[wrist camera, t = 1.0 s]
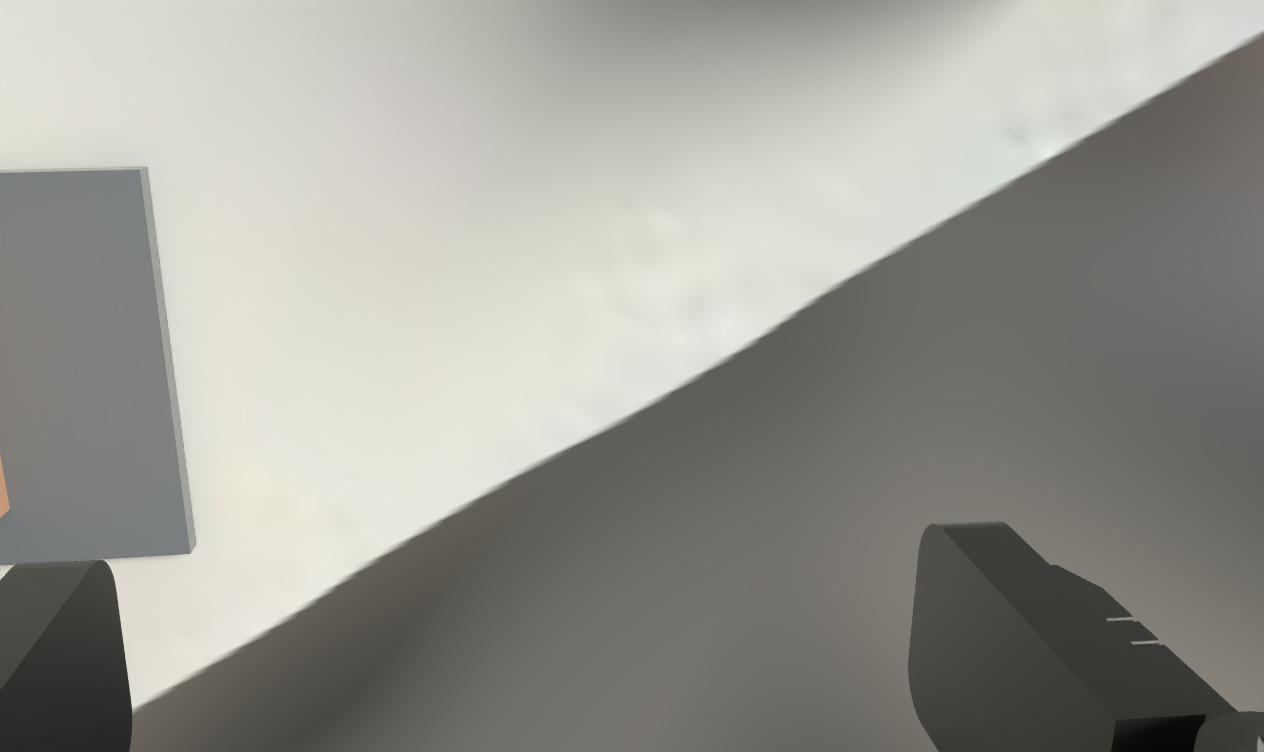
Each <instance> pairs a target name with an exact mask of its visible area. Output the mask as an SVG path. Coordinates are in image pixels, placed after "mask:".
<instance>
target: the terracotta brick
mask: <svg viewBox="0 0 1264 752" xmlns="http://www.w3.org/2000/svg"><path fill="white" fill-rule="evenodd" d="M9 509H10V507H9V501H8V496H7V490H6V484H5V479H4V473H3V468H2V462H1V456H0V518H1V517H2V516H3V515H4V514H5V513H6V512H7V511H8V510H9Z"/></svg>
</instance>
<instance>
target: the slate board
mask: <svg viewBox="0 0 1264 752" xmlns="http://www.w3.org/2000/svg"><path fill="white" fill-rule="evenodd" d="M0 456H1V462H2V468H3V473H4V479H5V484H6V490H7V496H8V501H9V507H10V509H9V510H8V511H7V512H6V513H5V514H4V515H3V516H2V517H1V518H0V565H10V564H18V563H38V562H60V561H77V560H94V559H111V558H128V557H144V556H161V555H178V554H191V552H192V550H193V549H194V547H195V545H196V537H195V530H194V522H193V514H192V507H191V499H190V491H189V484H188V476H187V468H186V460H185V453H184V445H183V437H182V430H181V422H180V414H179V407H178V399H177V391H176V384H175V376H174V368H173V361H172V353H171V345H170V338H169V330H168V322H167V315H166V307H165V299H164V292H163V284H162V276H161V269H160V261H159V253H158V246H157V238H156V230H155V222H154V215H153V207H152V199H151V192H150V184H149V176H148V169H147V167H119V168H77V169H34V170H0Z"/></svg>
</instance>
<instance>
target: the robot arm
mask: <svg viewBox="0 0 1264 752" xmlns="http://www.w3.org/2000/svg"><path fill="white" fill-rule="evenodd" d="M908 673H909V683H910V691H911V695H912V700H913V704H914V707H915V710H916V713H917V715H918V718H919V720H920V722H921V724H922V725H923V727H924V729H925V730H926V732H927V733H928V735H929V737H930V738H931V740H932V741H933V743H934V745H935V746H936V748H937V749H938V751H939V752H1264V712H1251V711H1250V712H1238V711H1237V710H1235V709H1234V708H1233V707H1232V706H1231V705H1230V704H1229V703H1228V702H1227V701H1226V700H1224V699H1223V698H1222V697H1221V696H1220V695H1219V694H1218V693H1217V692H1216V691H1215V690H1214V689H1212V688H1211V687H1210V686H1209V685H1208V684H1207V683H1206V682H1205V681H1204V680H1203V679H1201V678H1200V677H1199V676H1198V675H1197V674H1196V673H1195V672H1194V671H1193V670H1191V669H1190V668H1189V667H1188V666H1187V665H1186V664H1185V663H1184V662H1183V661H1182V660H1181V659H1179V658H1178V657H1177V656H1176V655H1175V654H1174V653H1173V652H1172V651H1171V650H1170V649H1169V648H1167V647H1166V646H1165V645H1159V644H1158V638H1156V637H1155V636H1154V635H1153V634H1152V633H1151V632H1150V631H1149V630H1148V629H1147V628H1145V627H1144V626H1143V625H1142V624H1141V623H1140V622H1139V621H1137V622H1133V616H1132V615H1131V614H1130V613H1129V612H1128V611H1127V610H1126V609H1125V608H1124V607H1122V606H1121V605H1120V604H1119V603H1118V602H1117V601H1116V600H1114V598H1113V597H1111V596H1110V595H1109V594H1108V593H1107V592H1106V591H1105V590H1104V589H1103V588H1101V587H1099V586H1097V585H1095V584H1093V583H1091V582H1089V581H1087V580H1085V579H1083V578H1081V577H1079V576H1077V575H1075V574H1073V573H1071V572H1069V571H1067V570H1065V569H1063V568H1062V567H1059V566H1057V565H1049V564H1048V563H1047V562H1046V561H1045V560H1044V559H1043V558H1042V557H1041V556H1040V555H1039V554H1038V553H1036V551H1034V549H1032V548H1031V547H1030V546H1029V545H1028V544H1027V543H1026V542H1025V541H1024V540H1023V539H1022V538H1021V537H1020V536H1019V535H1018V534H1017V533H1016V532H1014V530H1013V529H1012V528H1010V527H1009V526H1008V525H1007V524H1006V523H1004V522H1001V521H994V522H971V523H945V524H931V525H929V526H928V527H927V528H926V529H925V531H924V533H923V535H922V538H921V542H920V547H919V556H918V565H917V576H916V587H915V597H914V607H913V617H912V629H911V638H910V649H909V662H908ZM131 736H132V705H131V697H130V689H129V682H128V674H127V667H126V659H125V652H124V644H123V637H122V630H121V622H120V615H119V607H118V600H117V592H116V586H115V581H114V577H113V574H112V571H111V569H110V567H109V565H108V564H107V563H106V562H105V561H103V560H87V561H63V562H38V563H18V564H16V565H14V566H13V567H12V568H11V569H10V570H9V571H8V572H7V573H6V575H5V576H4V577H3V578H2V579H1V580H0V752H129V750H130V744H131Z"/></svg>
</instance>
